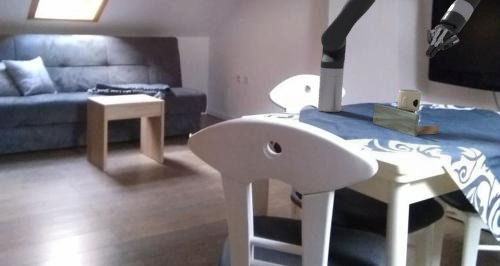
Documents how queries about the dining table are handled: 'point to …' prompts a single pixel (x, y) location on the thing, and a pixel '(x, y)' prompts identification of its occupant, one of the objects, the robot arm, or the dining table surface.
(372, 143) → the dining table surface
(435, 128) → the oak dock
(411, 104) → the character mug
